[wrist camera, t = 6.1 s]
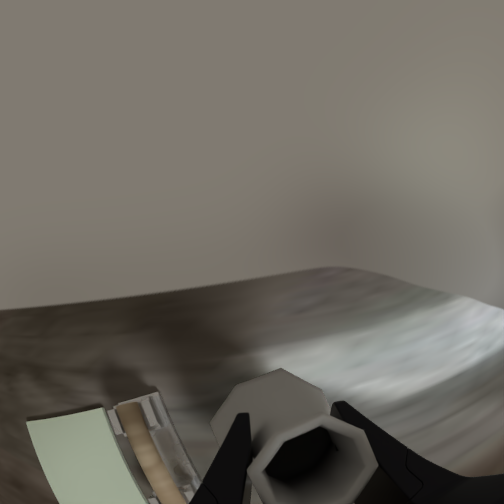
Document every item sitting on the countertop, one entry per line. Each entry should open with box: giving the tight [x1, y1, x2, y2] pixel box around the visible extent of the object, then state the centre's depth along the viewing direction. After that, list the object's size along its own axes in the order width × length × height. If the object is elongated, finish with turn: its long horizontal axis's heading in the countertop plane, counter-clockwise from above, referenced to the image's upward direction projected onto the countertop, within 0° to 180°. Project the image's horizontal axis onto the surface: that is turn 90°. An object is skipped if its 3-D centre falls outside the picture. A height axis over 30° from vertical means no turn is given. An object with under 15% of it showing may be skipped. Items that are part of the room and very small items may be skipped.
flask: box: [209, 368, 379, 504], centre depth 9 cm, size 7×7×10 cm
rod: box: [116, 402, 187, 504], centre depth 12 cm, size 9×2×2 cm, turn 24°
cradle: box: [107, 392, 202, 504], centre depth 14 cm, size 10×4×3 cm, turn 24°
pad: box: [26, 408, 149, 504], centre depth 13 cm, size 10×10×1 cm
